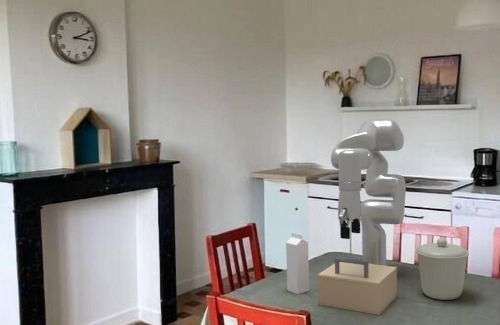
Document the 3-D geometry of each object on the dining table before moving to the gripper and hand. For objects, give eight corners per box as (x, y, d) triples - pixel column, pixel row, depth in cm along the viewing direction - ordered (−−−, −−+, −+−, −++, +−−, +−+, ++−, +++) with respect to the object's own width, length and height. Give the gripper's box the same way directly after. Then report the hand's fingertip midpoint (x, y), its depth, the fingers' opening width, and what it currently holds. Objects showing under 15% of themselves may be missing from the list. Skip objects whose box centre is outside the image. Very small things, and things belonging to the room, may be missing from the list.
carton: (340, 287, 211) (339, 262, 210) (397, 296, 199) (396, 269, 198) (318, 304, 194) (317, 276, 193) (379, 314, 182) (378, 285, 181)
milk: (297, 294, 205) (295, 236, 203) (287, 290, 210) (285, 234, 208) (309, 290, 209) (308, 234, 206) (299, 286, 214) (297, 231, 211)
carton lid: (339, 262, 210) (339, 245, 209) (396, 269, 198) (396, 251, 198) (317, 276, 193) (317, 258, 192) (378, 285, 181) (378, 266, 181)
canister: (434, 307, 188) (434, 246, 186) (406, 290, 205) (405, 235, 203) (479, 300, 192) (480, 241, 190) (448, 285, 210) (448, 230, 208)
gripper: (349, 182, 197) (349, 230, 198) (329, 189, 182) (330, 239, 183) (369, 183, 193) (369, 231, 194) (351, 190, 178) (351, 242, 179)
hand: (350, 235), depth 189 cm, fingers open, 9 cm apart
